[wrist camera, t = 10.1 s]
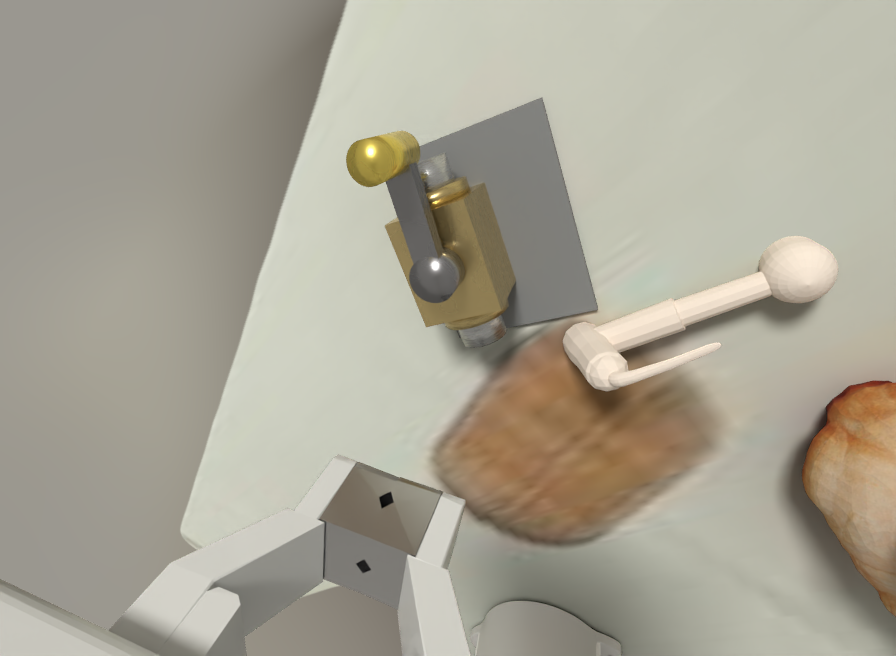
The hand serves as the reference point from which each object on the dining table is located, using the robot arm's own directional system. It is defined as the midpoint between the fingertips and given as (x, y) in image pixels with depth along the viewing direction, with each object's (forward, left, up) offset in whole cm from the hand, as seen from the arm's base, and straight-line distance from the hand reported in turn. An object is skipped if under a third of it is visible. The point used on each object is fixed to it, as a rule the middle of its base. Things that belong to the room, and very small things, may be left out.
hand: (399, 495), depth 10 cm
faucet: (-10, -7, -30) cm, 32 cm away
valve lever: (+3, +7, -23) cm, 24 cm away
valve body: (-1, +7, -29) cm, 30 cm away
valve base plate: (-1, +5, -29) cm, 29 cm away
